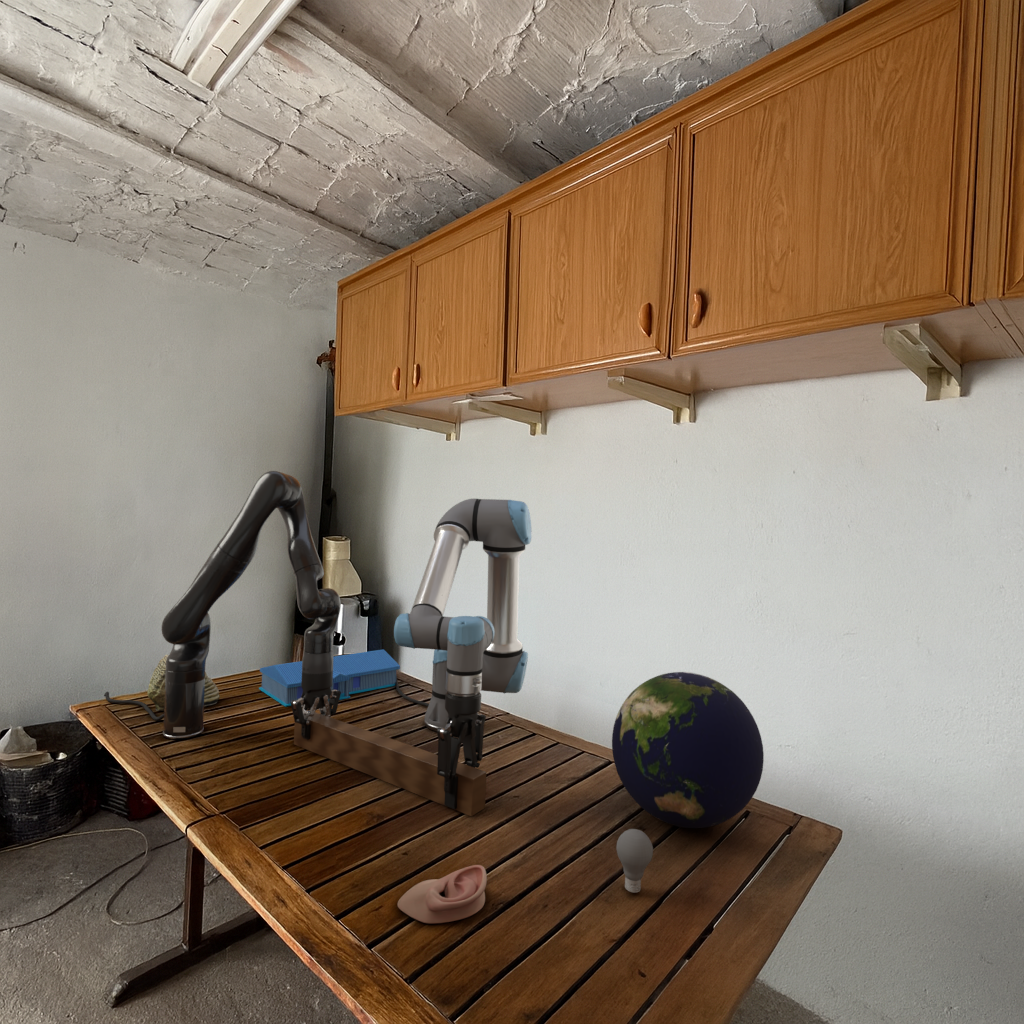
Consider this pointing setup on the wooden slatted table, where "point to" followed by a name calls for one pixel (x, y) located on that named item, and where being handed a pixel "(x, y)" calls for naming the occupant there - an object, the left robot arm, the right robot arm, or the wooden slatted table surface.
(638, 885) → the light bulb
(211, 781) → the wooden slatted table surface
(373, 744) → the beam
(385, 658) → the model building
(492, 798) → the wooden slatted table surface
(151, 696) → the fossil
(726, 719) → the globe
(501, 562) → the right robot arm
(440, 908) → the anatomical model
